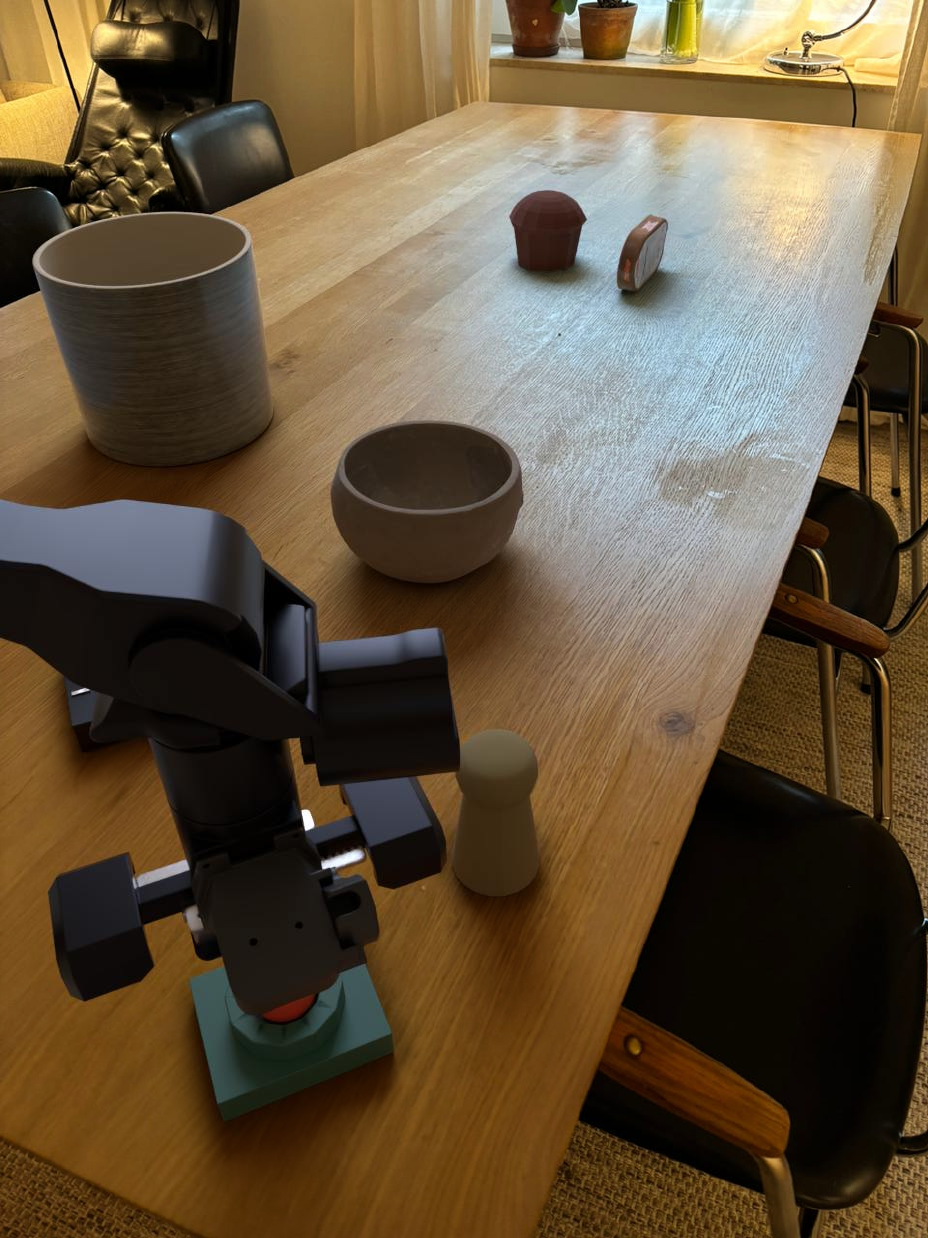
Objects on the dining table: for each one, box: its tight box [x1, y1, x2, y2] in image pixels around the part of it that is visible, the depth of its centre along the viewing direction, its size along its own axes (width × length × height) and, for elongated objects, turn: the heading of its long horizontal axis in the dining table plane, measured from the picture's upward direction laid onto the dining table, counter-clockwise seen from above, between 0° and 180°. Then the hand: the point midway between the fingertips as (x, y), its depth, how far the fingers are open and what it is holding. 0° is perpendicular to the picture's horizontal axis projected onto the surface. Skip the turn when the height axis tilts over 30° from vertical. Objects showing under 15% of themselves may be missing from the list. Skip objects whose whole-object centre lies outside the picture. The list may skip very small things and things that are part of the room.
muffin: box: [508, 189, 588, 273], centre depth 149 cm, size 12×11×10 cm
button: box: [261, 994, 315, 1022], centre depth 56 cm, size 4×4×2 cm
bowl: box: [330, 419, 525, 584], centre depth 92 cm, size 17×18×10 cm
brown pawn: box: [451, 728, 541, 897], centre depth 64 cm, size 6×6×11 cm
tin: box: [616, 214, 669, 292], centre depth 143 cm, size 15×3×8 cm, turn 153°
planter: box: [32, 211, 274, 467], centre depth 109 cm, size 22×22×20 cm
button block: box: [188, 963, 395, 1123], centre depth 58 cm, size 10×8×4 cm
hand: (276, 963), depth 55 cm, fingers closed
